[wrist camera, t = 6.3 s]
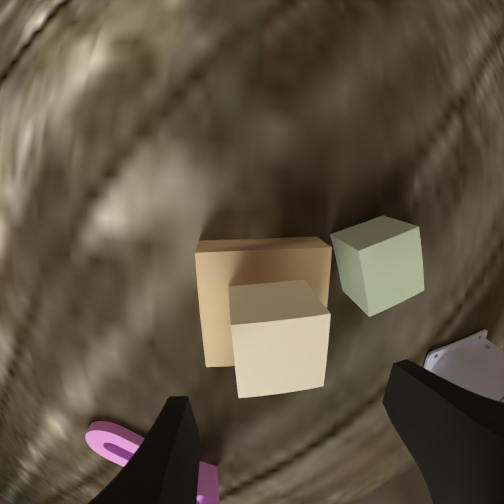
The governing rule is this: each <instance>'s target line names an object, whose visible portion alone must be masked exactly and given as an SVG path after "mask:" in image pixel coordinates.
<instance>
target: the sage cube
mask: <svg viewBox="0 0 504 504" xmlns="http://www.w3.org/2000/svg"><path fill="white" fill-rule="evenodd" d="M330 236H331V240H332V244H333V248H334V253H335V257H336V261H337V266H338V271H339V275H340V280H341V285H342V290H343V291H344V292H345V293H346V294H347V295H348V296H349V297H350V298H351V299H352V300H353V301H354V302H355V303H356V304H357V305H358V306H359V307H360V308H361V309H362V310H363V311H364V312H365V313H366V314H367V315H368V316H369V317H370V316H373V315H375V314H377V313H379V312H381V311H384V310H386V309H388V308H390V307H392V306H394V305H396V304H398V303H400V302H402V301H404V300H406V299H408V298H410V297H412V296H414V295H416V294H418V293H420V292H422V291H424V275H423V261H422V250H421V241H420V232H419V227H418V226H415V225H412V224H409V223H406V222H403V221H399V220H396V219H393V218H390V217H386V216H380V217H377V218H375V219H372V220H369V221H366V222H363V223H361V224H358V225H355V226H352V227H349V228H347V229H344V230H341V231H338V232H335V233H332V234H330Z"/></svg>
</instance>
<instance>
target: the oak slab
mask: <svg viewBox="0 0 504 504" xmlns="http://www.w3.org/2000/svg"><path fill="white" fill-rule="evenodd" d="M331 253H332V247H331V246H329V245H328V244H326V243H325V242H323V241H322V240H321V239H319V238H318V237H286V238H256V239H229V240H204V241H199V242H198V245H197V248H196V251H195V258H196V272H197V285H198V296H199V307H200V317H201V327H202V336H203V345H204V354H205V362H206V367H219V366H235V362H234V352H233V343H232V333H231V323H230V309H229V294H228V286H239V285H251V284H262V283H273V282H284V281H294V280H305V281H306V282H307V284H308V285H309V286H310V287H311V289H312V290H313V291H314V293H315V294H316V295H317V297H318V298H319V299H320V301H321V302H322V303H323V304H324V306H325V307H326V308H327V302H328V291H329V280H330V267H331Z"/></svg>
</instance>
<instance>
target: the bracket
mask: <svg viewBox="0 0 504 504" xmlns="http://www.w3.org/2000/svg"><path fill="white" fill-rule="evenodd" d="M85 439H86V442H87V444H88V445H89V446H90V447H91V448H92V449H93V450H94V451H95V452H96V453H98V454H99V455H101V456H103V457H105V458H107V459H109V460H111V461H113V462H115V463H117V464H119V465H121V466H123V467H124V466H125V465H126V464H127V462H128V461H129V460H130V458H131V457H132V456H133V454H134V453H135V452H136V450H137V449H138V447H139V446H140V445H141V443H142V442H143V440H144V437H142V436H140V435H138V434H136V433H134V432H132V431H130V430H128V429H126V428H124V427H122V426H120V425H117V424H114V423H111V422H106V421H96V422H93V423H91V424H90V426H89V428H88V431H87V433H86V436H85ZM197 501H198V502H199V503H200V504H219V490H218V470H217V466H214V465H211V464H208V463H205V462H202V461H200V464H199V476H198V488H197ZM196 504H197V503H196Z"/></svg>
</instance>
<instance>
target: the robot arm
mask: <svg viewBox="0 0 504 504" xmlns="http://www.w3.org/2000/svg"><path fill="white" fill-rule="evenodd" d="M487 333H488V332H487V330H486V329H484V330H482V331H480V332H478V333H475V334H473V335H471V336H469V337H466V338H464V339H461V340H459V341H457V342H454V343H452V344H449V345H446V346H444V347H441V348H439V349H436V350H433V351H431V352H429V353H428V355H427V357H426V361H425V364H424V367H421V366H419V365H417V364H415V363H413V362H411V361H409V360H407V359H406V360H402V361H399V362H396V363H393V366H392V370H391V374H390V378H389V381H388V385H387V388H386V392H385V395H384V398H383V401H382V402H383V404H384V407H385V409H386V411H387V414H388V416H389V418H390V420H391V422H392V424H393V426H394V427H395V429H396V431H397V432H398V434H399V435H400V437H401V439H402V440H403V442H404V443H405V445H406V447H407V448H408V450H409V451H410V453H411V455H412V456H413V458H414V459H415V461H416V463H417V464H418V466H419V468H420V470H421V472H422V475H423V477H424V479H425V481H426V484H427V486H428V489H429V492H430V495H431V497H432V500H433V503H434V504H504V352H503V351H502V350H501V349H499V348H498V347H497V346H495V345H494V344H493V343H491V342H490V341H489V340H487V339H486V336H487ZM199 464H200V443H199V431H198V428H197V425H196V422H195V418H194V415H193V412H192V408H191V405H190V401H189V398H188V396H177V397H169V398H168V399H167V401H166V403H165V405H164V407H163V409H162V410H161V412H160V414H159V416H158V417H157V419H156V421H155V423H154V424H153V426H152V428H151V429H150V431H149V432H148V434H147V435H146V437H145V438H144V440H143V442H142V443H141V445H140V446H139V447H138V449H137V450H136V452H135V453H134V454H133V456H132V457H131V458H130V460H129V461H128V462H127V464H126V465H125V466H124V467H123V469H122V470H121V471H120V472H119V473H118V474H117V476H116V477H115V478H114V479H113V480H112V481H111V482H110V483H109V484H108V485H107V486H106V487H105V488H104V489H103V490H102V491H101V492H100V493H99V494H98V495H97V496H96V497H95V498H94V499H92V500H91V501H90V502H89V503H88V504H196V501H197V488H198V476H199Z"/></svg>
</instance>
